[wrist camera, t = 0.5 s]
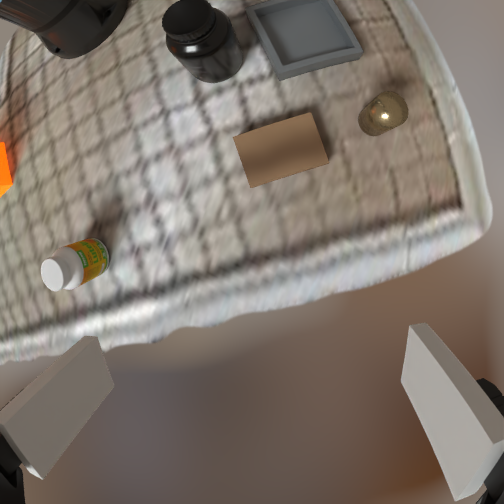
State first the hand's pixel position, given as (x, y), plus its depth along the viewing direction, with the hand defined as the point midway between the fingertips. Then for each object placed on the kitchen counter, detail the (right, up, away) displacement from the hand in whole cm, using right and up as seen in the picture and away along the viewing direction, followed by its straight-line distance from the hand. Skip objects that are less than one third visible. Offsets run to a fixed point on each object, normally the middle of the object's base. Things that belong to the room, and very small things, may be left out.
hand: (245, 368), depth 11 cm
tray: (+6, +31, +18) cm, 37 cm away
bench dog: (+14, +20, +20) cm, 32 cm away
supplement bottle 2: (-4, +28, +20) cm, 35 cm away
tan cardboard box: (+4, +16, +22) cm, 28 cm away
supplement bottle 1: (-22, +4, +28) cm, 35 cm away
